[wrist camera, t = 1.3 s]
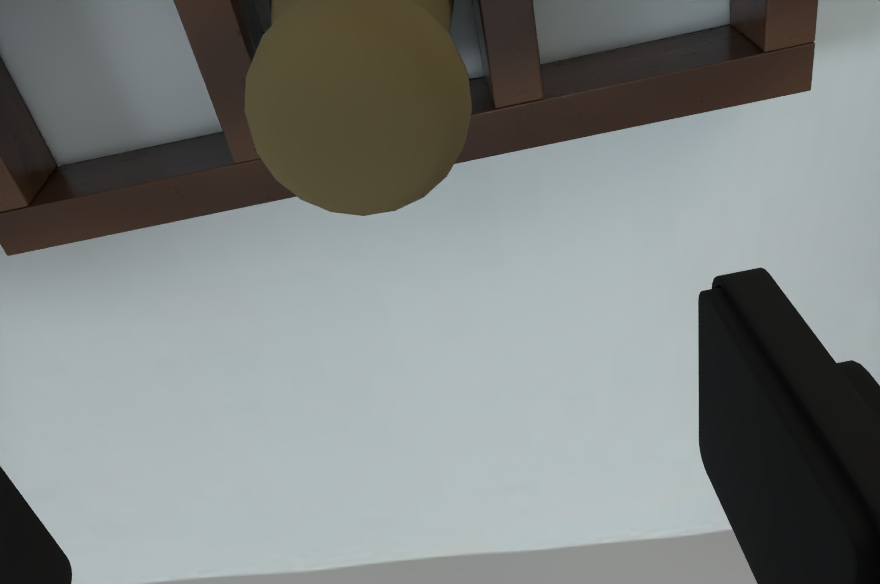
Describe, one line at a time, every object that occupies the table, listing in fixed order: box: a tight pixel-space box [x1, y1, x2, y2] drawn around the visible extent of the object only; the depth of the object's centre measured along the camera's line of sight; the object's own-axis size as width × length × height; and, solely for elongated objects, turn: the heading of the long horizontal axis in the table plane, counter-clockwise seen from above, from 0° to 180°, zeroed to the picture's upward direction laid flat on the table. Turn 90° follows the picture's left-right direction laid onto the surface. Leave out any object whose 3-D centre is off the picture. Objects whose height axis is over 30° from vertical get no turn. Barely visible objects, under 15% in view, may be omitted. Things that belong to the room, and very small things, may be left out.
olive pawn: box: [245, 0, 472, 216], centre depth 22 cm, size 6×6×11 cm
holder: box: [0, 0, 818, 256], centre depth 25 cm, size 10×27×3 cm, turn 101°
